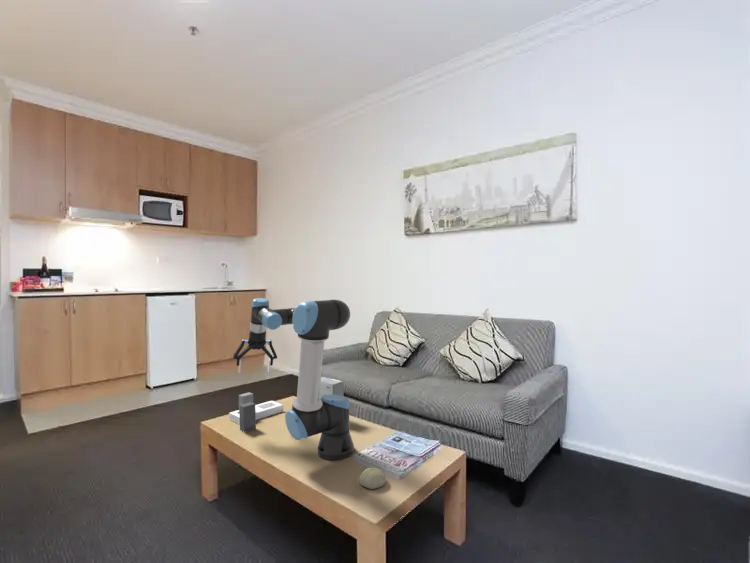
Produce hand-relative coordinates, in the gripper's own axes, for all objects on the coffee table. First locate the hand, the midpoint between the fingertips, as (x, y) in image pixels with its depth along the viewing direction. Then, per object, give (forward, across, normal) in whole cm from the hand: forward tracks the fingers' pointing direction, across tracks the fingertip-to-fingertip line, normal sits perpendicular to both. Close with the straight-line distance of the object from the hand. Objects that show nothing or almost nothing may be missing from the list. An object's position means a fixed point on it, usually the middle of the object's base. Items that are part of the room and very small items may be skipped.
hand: (254, 371), depth 191 cm
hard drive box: (+22, -38, +11) cm, 45 cm away
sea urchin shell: (+6, -37, +74) cm, 83 cm away
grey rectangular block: (+26, +1, +9) cm, 27 cm away
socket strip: (+29, -4, -8) cm, 31 cm away
